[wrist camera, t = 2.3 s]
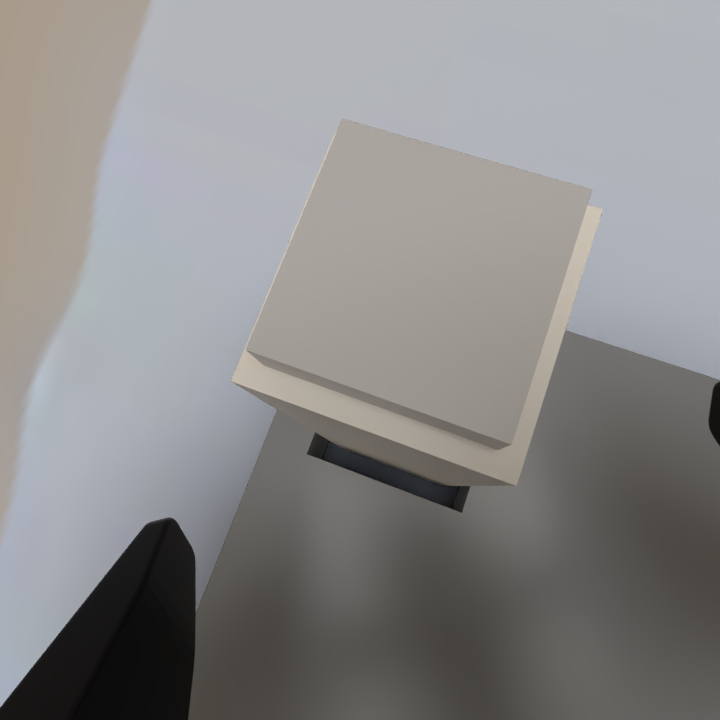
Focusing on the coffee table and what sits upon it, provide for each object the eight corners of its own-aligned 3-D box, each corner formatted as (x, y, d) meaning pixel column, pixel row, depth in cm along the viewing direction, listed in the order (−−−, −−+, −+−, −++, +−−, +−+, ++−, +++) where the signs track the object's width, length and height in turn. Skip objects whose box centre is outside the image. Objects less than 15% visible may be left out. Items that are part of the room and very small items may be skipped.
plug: (441, 486, 18) (533, 486, 5) (343, 449, 19) (207, 366, 6) (474, 387, 19) (629, 172, 6) (378, 354, 19) (326, 88, 6)
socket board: (685, 1122, 14) (782, 1342, 11) (132, 840, 17) (55, 940, 13) (828, 449, 18) (940, 439, 14) (347, 291, 20) (335, 246, 16)
